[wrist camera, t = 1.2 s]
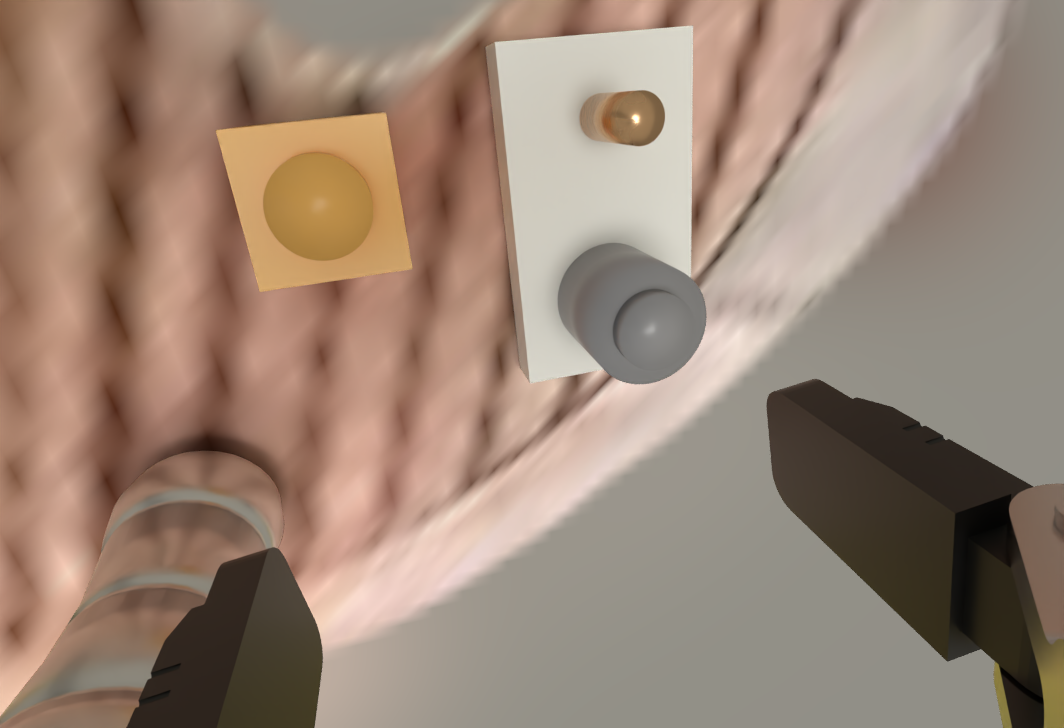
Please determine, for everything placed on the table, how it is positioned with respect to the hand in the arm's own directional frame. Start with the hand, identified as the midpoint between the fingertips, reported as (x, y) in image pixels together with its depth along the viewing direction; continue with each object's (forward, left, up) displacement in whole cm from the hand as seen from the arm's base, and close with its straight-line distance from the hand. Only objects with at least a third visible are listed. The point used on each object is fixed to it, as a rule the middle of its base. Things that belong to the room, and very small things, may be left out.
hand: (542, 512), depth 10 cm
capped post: (+8, -3, -17) cm, 19 cm away
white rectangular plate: (+8, +1, -20) cm, 21 cm away
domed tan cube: (-3, +3, -20) cm, 20 cm away
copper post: (+8, +5, -17) cm, 20 cm away
